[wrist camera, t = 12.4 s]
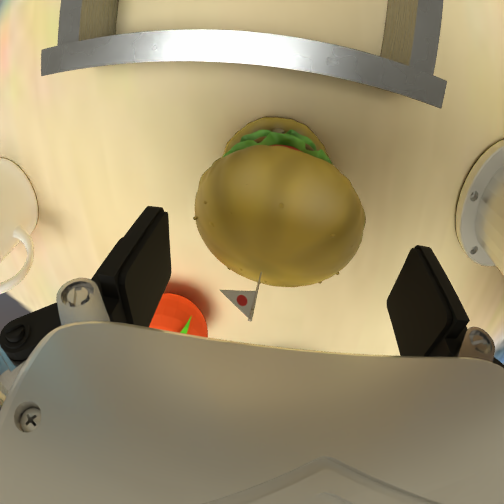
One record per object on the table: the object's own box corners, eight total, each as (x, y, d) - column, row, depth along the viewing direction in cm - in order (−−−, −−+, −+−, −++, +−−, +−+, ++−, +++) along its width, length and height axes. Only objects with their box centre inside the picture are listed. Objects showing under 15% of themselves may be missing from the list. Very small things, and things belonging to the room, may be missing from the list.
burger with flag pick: (351, 151, 19) (430, 260, 9) (292, 228, 23) (306, 368, 13) (251, 88, 17) (232, 128, 7) (198, 178, 21) (141, 302, 11)
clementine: (165, 255, 25) (139, 319, 19) (234, 296, 27) (226, 363, 21) (131, 306, 29) (108, 363, 23) (190, 337, 31) (177, 396, 25)
